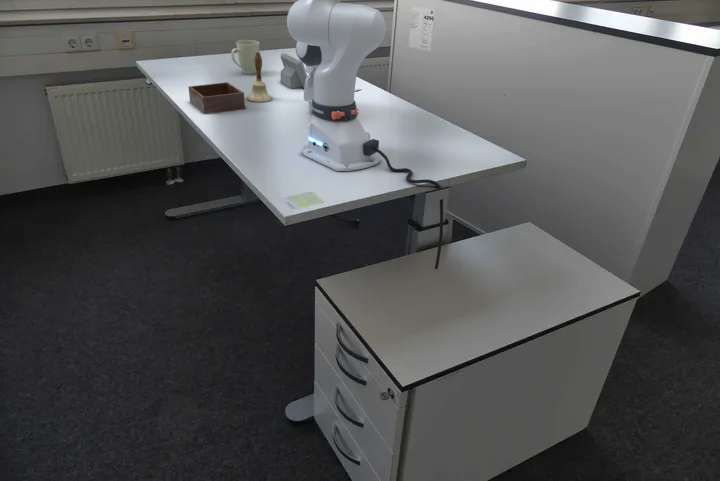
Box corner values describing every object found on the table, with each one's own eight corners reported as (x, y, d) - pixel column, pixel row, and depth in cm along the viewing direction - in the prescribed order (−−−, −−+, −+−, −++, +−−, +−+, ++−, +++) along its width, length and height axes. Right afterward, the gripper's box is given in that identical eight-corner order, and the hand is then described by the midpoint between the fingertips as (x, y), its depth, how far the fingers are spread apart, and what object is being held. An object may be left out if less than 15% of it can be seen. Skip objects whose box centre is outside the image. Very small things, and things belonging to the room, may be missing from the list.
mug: (238, 69, 230) (236, 39, 224) (262, 70, 230) (261, 40, 224) (232, 76, 221) (230, 44, 215) (257, 77, 221) (255, 46, 214)
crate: (244, 108, 187) (243, 92, 184) (204, 113, 180) (203, 97, 178) (228, 97, 197) (227, 82, 194) (190, 102, 190) (188, 86, 187)
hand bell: (276, 98, 198) (275, 52, 190) (260, 103, 192) (258, 56, 184) (259, 93, 202) (257, 48, 194) (242, 98, 196) (239, 51, 188)
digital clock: (311, 90, 210) (311, 61, 204) (287, 91, 207) (287, 61, 201) (300, 78, 223) (300, 51, 217) (277, 79, 220) (277, 51, 214)
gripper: (319, 74, 174) (316, 118, 181) (335, 62, 192) (332, 102, 198) (300, 71, 175) (297, 114, 182) (318, 59, 192) (315, 99, 199)
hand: (316, 108), depth 190 cm, fingers open, 8 cm apart
